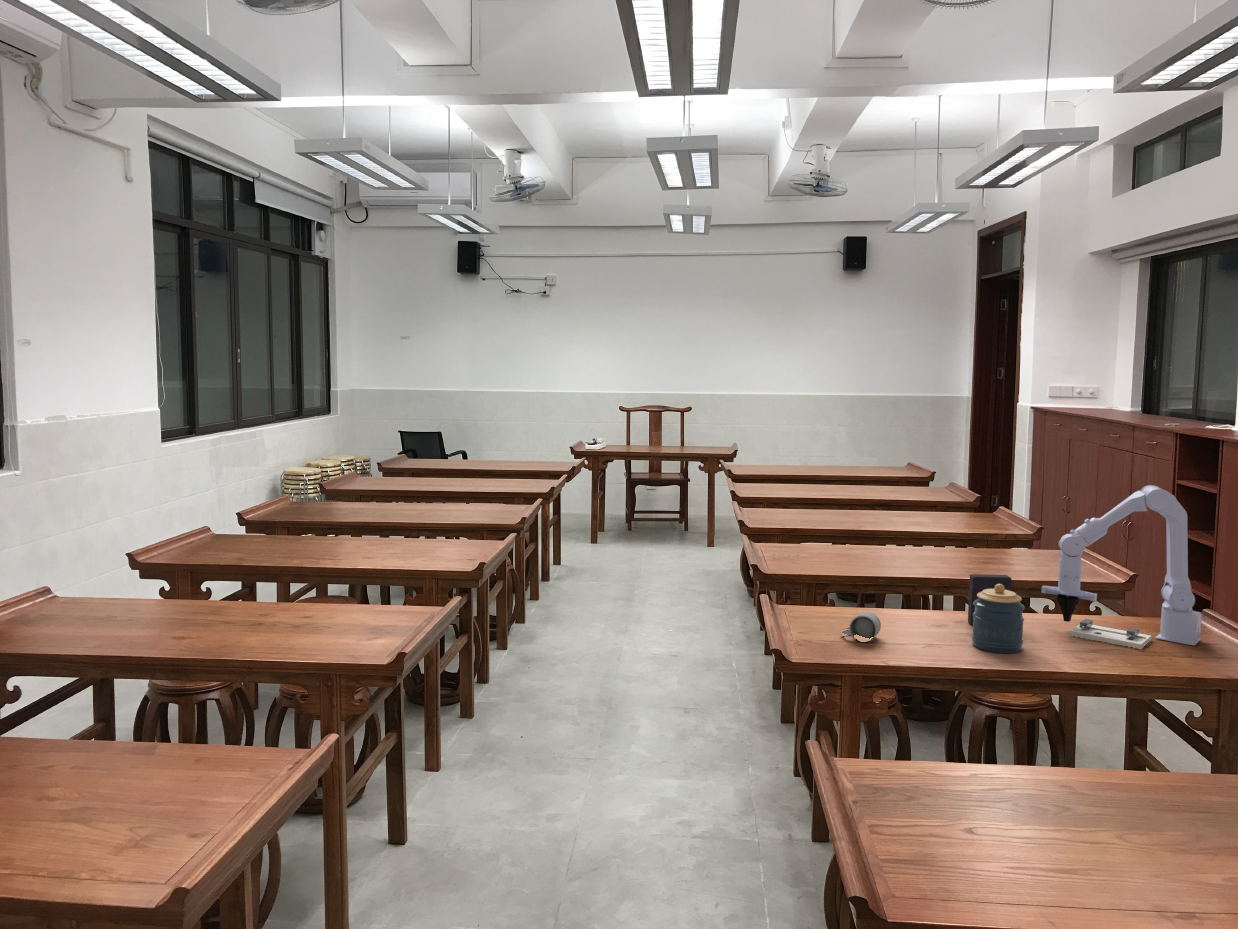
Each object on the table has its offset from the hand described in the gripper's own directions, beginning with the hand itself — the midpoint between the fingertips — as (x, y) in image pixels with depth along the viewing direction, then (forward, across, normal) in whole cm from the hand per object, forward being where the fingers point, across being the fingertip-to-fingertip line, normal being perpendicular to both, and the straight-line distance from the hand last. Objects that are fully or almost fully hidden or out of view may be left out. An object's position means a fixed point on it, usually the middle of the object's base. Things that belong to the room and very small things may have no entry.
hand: (1067, 620), depth 257 cm
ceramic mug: (+3, -40, -50) cm, 64 cm away
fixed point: (+1, +17, 0) cm, 17 cm away
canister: (+3, -9, -30) cm, 32 cm away
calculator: (+3, -19, -10) cm, 22 cm away
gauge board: (+3, +12, 0) cm, 12 cm away
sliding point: (+1, +5, 0) cm, 5 cm away
